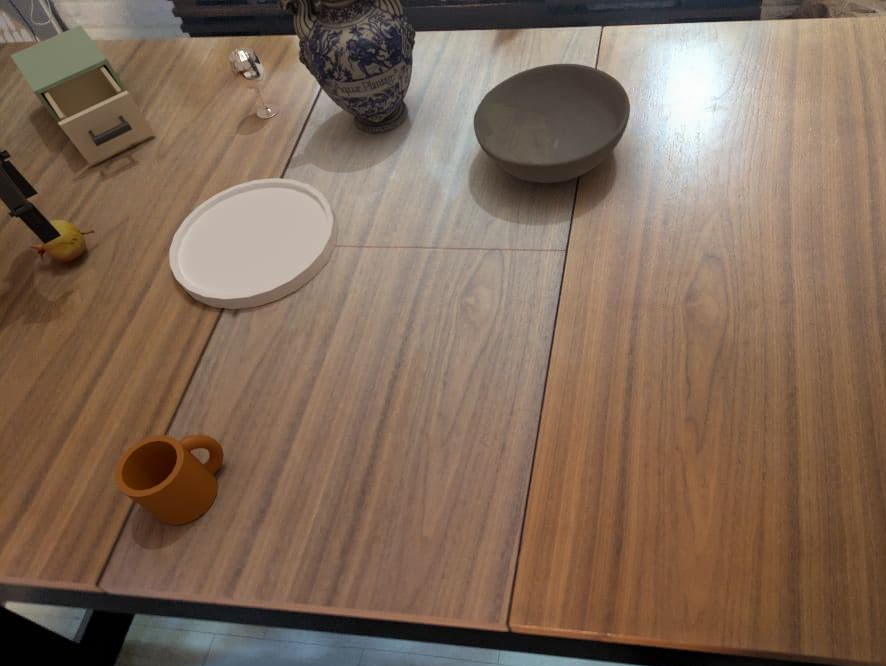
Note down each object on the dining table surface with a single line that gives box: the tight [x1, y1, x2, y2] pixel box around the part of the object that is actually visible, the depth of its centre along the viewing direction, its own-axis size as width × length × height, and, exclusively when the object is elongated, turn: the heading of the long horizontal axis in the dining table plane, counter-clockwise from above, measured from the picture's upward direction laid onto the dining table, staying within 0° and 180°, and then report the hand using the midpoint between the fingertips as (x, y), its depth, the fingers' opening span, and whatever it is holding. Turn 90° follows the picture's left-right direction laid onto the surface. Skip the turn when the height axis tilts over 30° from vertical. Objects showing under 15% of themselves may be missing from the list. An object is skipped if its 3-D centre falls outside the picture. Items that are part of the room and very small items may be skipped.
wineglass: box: [228, 47, 280, 120], centre depth 136 cm, size 6×6×12 cm
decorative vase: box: [276, 0, 417, 134], centre depth 125 cm, size 21×19×28 cm
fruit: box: [29, 219, 95, 263], centre depth 121 cm, size 7×7×10 cm
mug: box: [114, 434, 225, 526], centre depth 93 cm, size 9×12×9 cm
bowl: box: [473, 63, 631, 184], centre depth 122 cm, size 26×26×10 cm
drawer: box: [43, 65, 155, 165], centre depth 136 cm, size 20×13×9 cm
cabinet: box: [10, 24, 134, 124], centre depth 143 cm, size 17×15×11 cm
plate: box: [168, 177, 339, 310], centre depth 120 cm, size 28×28×2 cm
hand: (40, 217), depth 116 cm, fingers open, 13 cm apart
